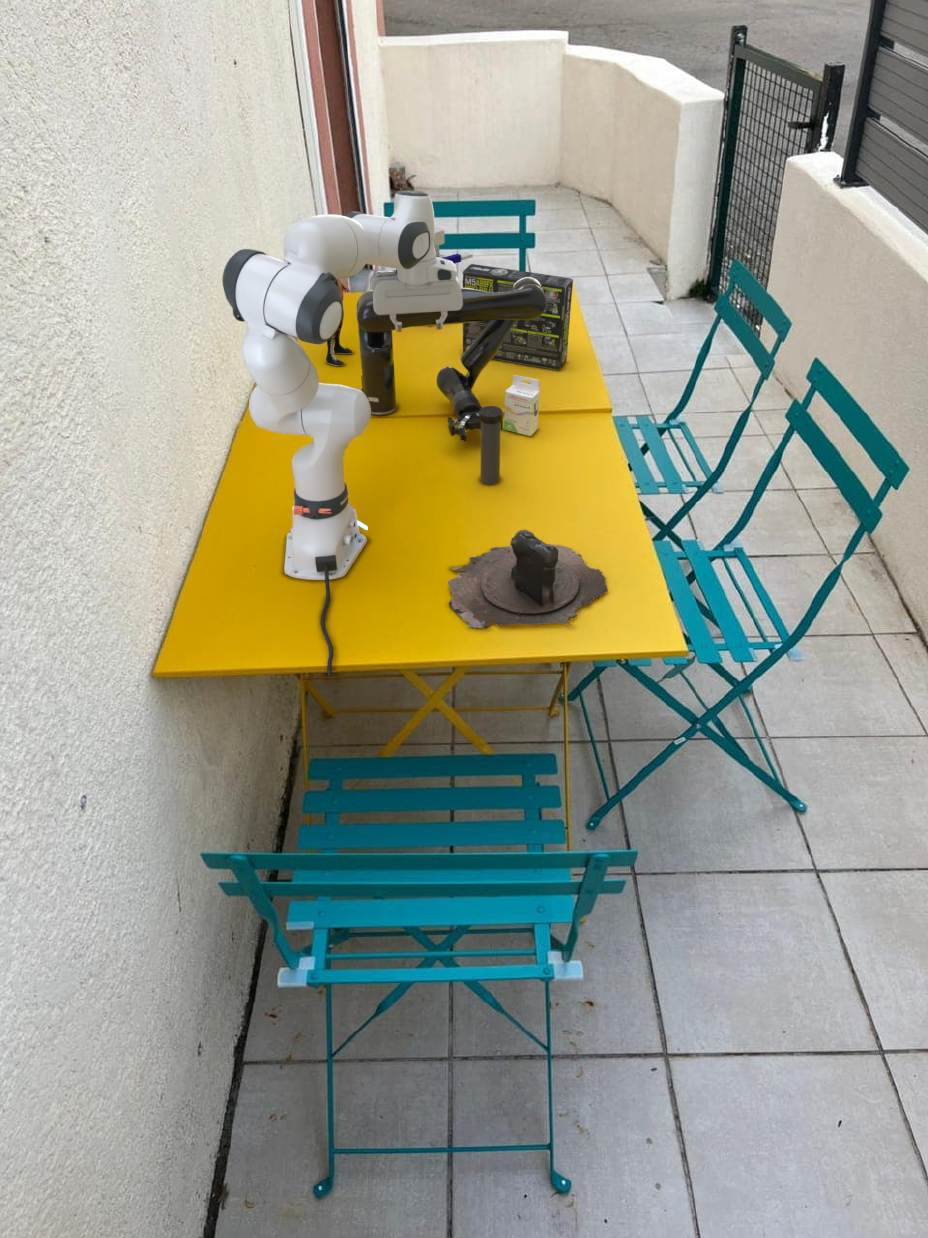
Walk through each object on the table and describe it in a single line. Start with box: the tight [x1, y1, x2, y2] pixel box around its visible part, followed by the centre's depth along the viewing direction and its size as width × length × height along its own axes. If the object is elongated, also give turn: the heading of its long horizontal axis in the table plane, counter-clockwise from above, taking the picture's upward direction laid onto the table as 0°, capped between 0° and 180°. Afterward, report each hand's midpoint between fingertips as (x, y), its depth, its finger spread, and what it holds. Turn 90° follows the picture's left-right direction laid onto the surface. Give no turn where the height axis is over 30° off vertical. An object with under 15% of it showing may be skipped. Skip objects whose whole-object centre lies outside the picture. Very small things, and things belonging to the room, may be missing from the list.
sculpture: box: [447, 529, 609, 629], centre depth 188 cm, size 33×35×16 cm
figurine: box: [325, 279, 353, 367], centre depth 275 cm, size 24×6×30 cm, turn 168°
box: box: [462, 263, 574, 371], centre depth 275 cm, size 34×7×27 cm, turn 68°
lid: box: [479, 405, 504, 424], centre depth 215 cm, size 6×6×2 cm
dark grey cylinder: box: [480, 422, 502, 486], centre depth 221 cm, size 5×5×19 cm
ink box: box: [503, 374, 541, 437], centre depth 242 cm, size 9×5×15 cm, turn 62°
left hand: (419, 329), depth 204 cm, fingers open, 8 cm apart
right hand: (481, 436), depth 231 cm, fingers open, 8 cm apart
